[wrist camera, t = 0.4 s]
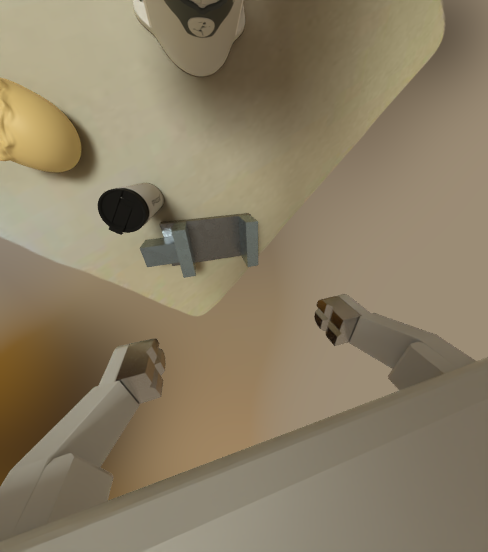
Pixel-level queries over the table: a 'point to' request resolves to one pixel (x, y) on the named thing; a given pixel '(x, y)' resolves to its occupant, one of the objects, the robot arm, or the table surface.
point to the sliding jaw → (171, 250)
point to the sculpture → (35, 131)
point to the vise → (221, 237)
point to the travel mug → (129, 206)
